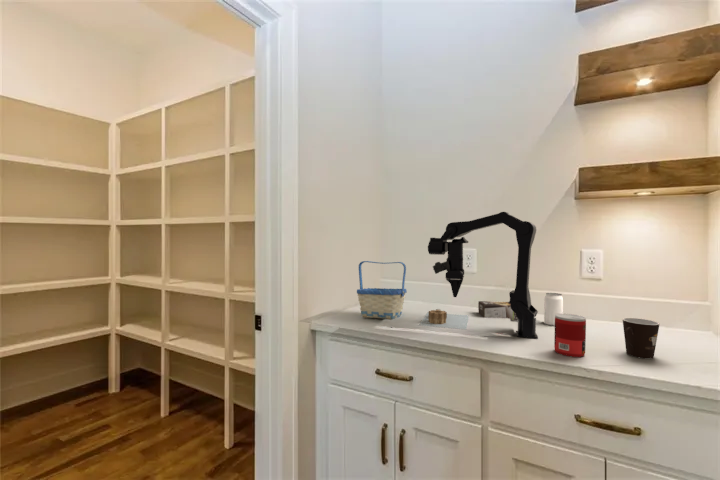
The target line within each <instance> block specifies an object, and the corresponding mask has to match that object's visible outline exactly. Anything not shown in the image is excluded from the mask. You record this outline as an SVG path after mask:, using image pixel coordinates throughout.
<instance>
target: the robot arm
mask: <svg viewBox="0 0 720 480" xmlns="http://www.w3.org/2000/svg"><path fill="white" fill-rule="evenodd" d="M501 224H502V225H503V224H504V225H505V226H507V227H509V228H510V229H511V230H513V231H515V237H516V238H515V239H516V241H517V247H518V248H517V250H518V251H517V262H516V263H517V265H516V279H515V288H514V290H513V289H512V290H511V291H509V301H508V302H509V303H508V304H510V303H511V304H510V306H511V309H512V310H513V312H515V313H516V316H517V319H518V321H517V330H515V334H516V336H517V337H518V338H519V337H520V338H527V339H528V338H531V339H538V338H539V336H538V334H537V333H536V332H537V331H536V330H537V326H536V325H537V317H536V316H537V315H538V312H539V311H538V310H537V308H536V307H534V306H533V304H532V298H531V294H530V288H529V282H530V270H531V269H530V268H531V257H532V256H531V252H532V246H533V244H534V242H535V241H534V240H535V237H536V234H537V226H536V225H535V224H534V223H533V222H530V221H526V220H525V221H524V220H521V219H520V218H517V217H515V216H514V215H512V214H510V213H509V212H506V211H500V212H499V213H495V214H491V215H488V216H487V215H486V216H484V217H481V218H480V217H479V218H476V219H473V220H468V221H467V220H466V221H454V222H450V223H448V224H447V225H446V226H445V231H444V233H442V235H441V237H430V238H429V241H428V245H427V252H428V254H429V255H444V256H445V255H446V253H447V258H446V261H443V262H441V261H437V262H435V263H434V265H433V266H432V268H433V271H434V273H435V274H439V273H440V272H445V271H446V272H445V280H446V281H447V282H448V283H449V284H450V287H451V292H452V297H453V298H457V296H458V294H459V291H460V289H461V287H462V284H463V281H464V277H465V269H464V245H463V244H468V243H469V241H468V240H467V239H466V238H465V235H468V234H470V233H471V232H473V231H478V230H482V229H485V228H490V227H492V226H497V225H498V226H499V225H501Z"/></svg>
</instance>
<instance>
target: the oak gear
mask: <svg viewBox="0 0 720 480" xmlns="http://www.w3.org/2000/svg"><path fill="white" fill-rule="evenodd" d="M440 310H441V309H440ZM440 310H436V309H433V310H432V309H431V310H428V312H429V321H428V322H430V323H434V324H444V323H446V312H447V311H446V310H441V311H440ZM445 311H446V312H445Z"/></svg>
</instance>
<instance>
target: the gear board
mask: <svg viewBox="0 0 720 480" xmlns="http://www.w3.org/2000/svg"><path fill="white" fill-rule="evenodd" d="M428 321H429V311H427V313H426V314H425V315H424V317H423V318H422V320H421V321H420V323H418V326H422V327H423V326H424V327H435V328H444V329H445V328H446V329H447V328H448V329H457V330H467V328H468V322H469V315H468V314H457V313H456V314H454V313H447V319H446V323H444V324H434V323H430V322H428Z"/></svg>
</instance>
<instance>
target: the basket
mask: <svg viewBox="0 0 720 480" xmlns="http://www.w3.org/2000/svg"><path fill="white" fill-rule="evenodd" d="M364 263H372V264H384V265H386V264H387V265H388V264H390V262H380V261H379V262H378V261H369V260H364V261H360V262H359V264H358V277H359V281H358V282H359V289H356V294H357V297H358V302H359V306H360V307H359V309H360V314H361V318H368V319H369V318H371V319H380V320H381V319H384V320H385V319H388V320H393V319H396V318H399V317H401V316H402V313H403V312H402V310H403V306H404V303H405V302H404V301H405V299H406V293H407V288H405V281H406V280H405V279H406V273H407V266H406V264H405V263H404V262H402V261H397V262H395V261H394V262H391V264H401V265H402V266H403V274H402V283H401V288H376V287H374V288H369V287H368V288H363V276H362V265H363V264H364Z"/></svg>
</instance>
